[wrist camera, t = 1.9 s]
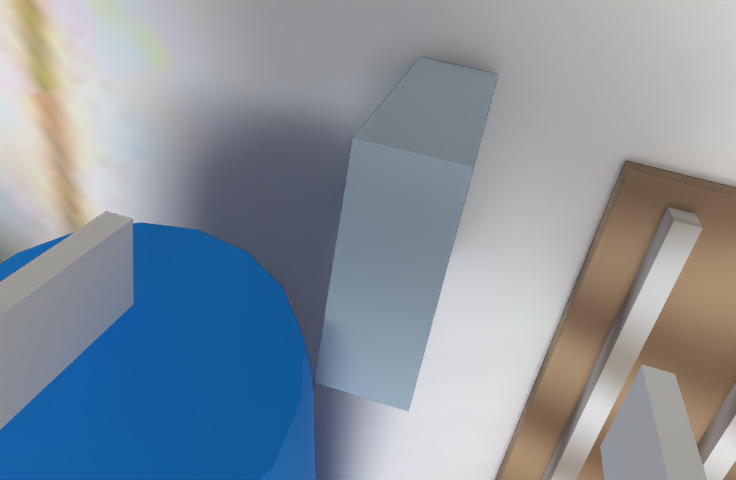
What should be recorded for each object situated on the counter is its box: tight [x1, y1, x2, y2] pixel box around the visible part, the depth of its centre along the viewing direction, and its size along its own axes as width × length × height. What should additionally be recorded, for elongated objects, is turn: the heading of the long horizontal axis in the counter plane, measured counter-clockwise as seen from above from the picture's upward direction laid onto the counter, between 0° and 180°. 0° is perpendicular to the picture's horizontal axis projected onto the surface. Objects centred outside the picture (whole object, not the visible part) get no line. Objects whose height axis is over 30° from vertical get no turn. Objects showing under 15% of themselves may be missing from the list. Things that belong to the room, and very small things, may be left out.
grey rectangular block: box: [314, 57, 498, 411], centre depth 21 cm, size 8×3×10 cm, turn 170°
